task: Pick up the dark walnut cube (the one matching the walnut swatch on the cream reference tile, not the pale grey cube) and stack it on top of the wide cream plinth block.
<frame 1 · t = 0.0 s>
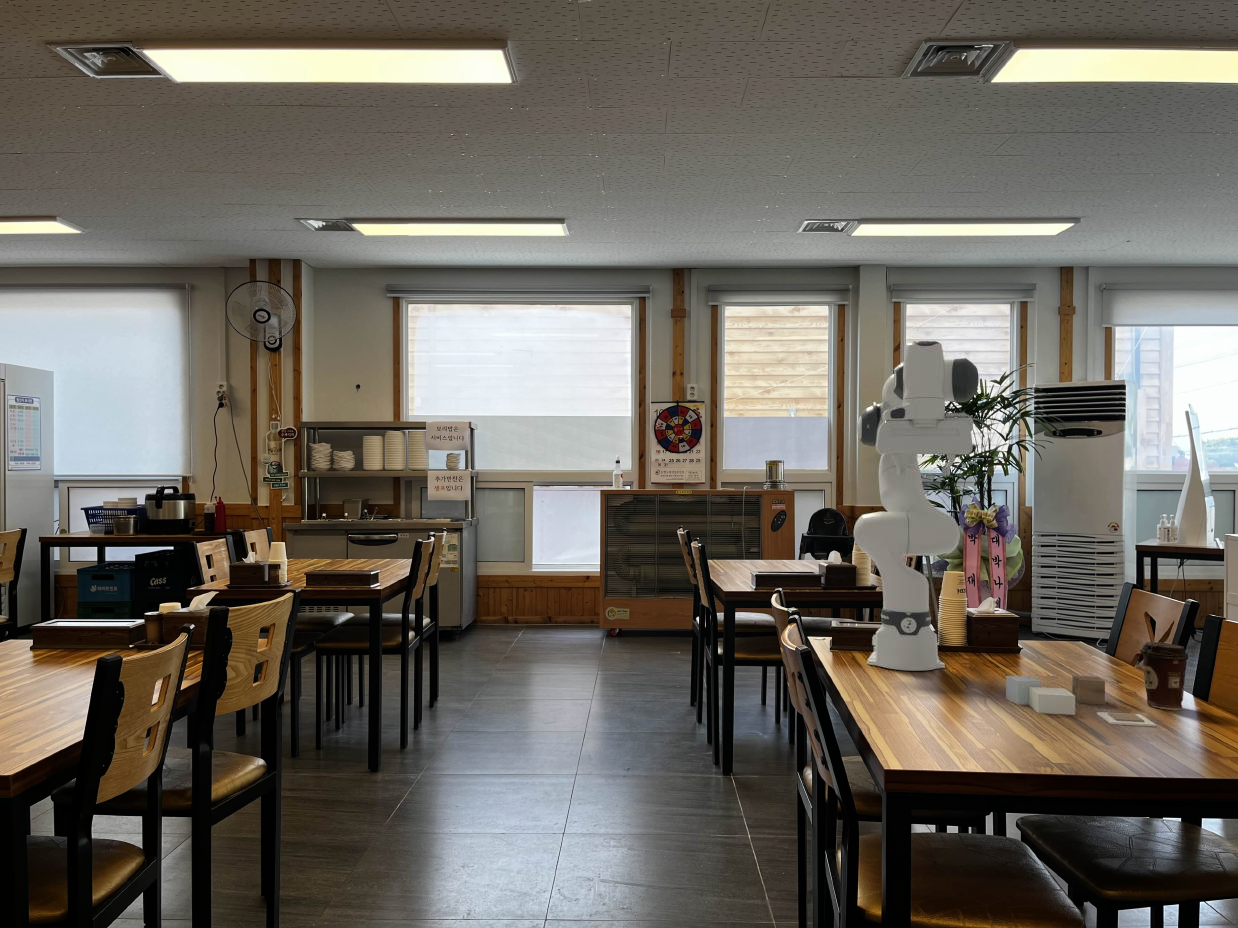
hand: (923, 475, 201), 48 cm above the table, fingers open, 8 cm apart
walnut cube: (1088, 701, 194), on the table
reference tile: (1125, 720, 178), on the table
coffee cup: (1163, 707, 190), on the table
grey cube: (1023, 701, 193), on the table
plinth block: (1051, 710, 186), on the table
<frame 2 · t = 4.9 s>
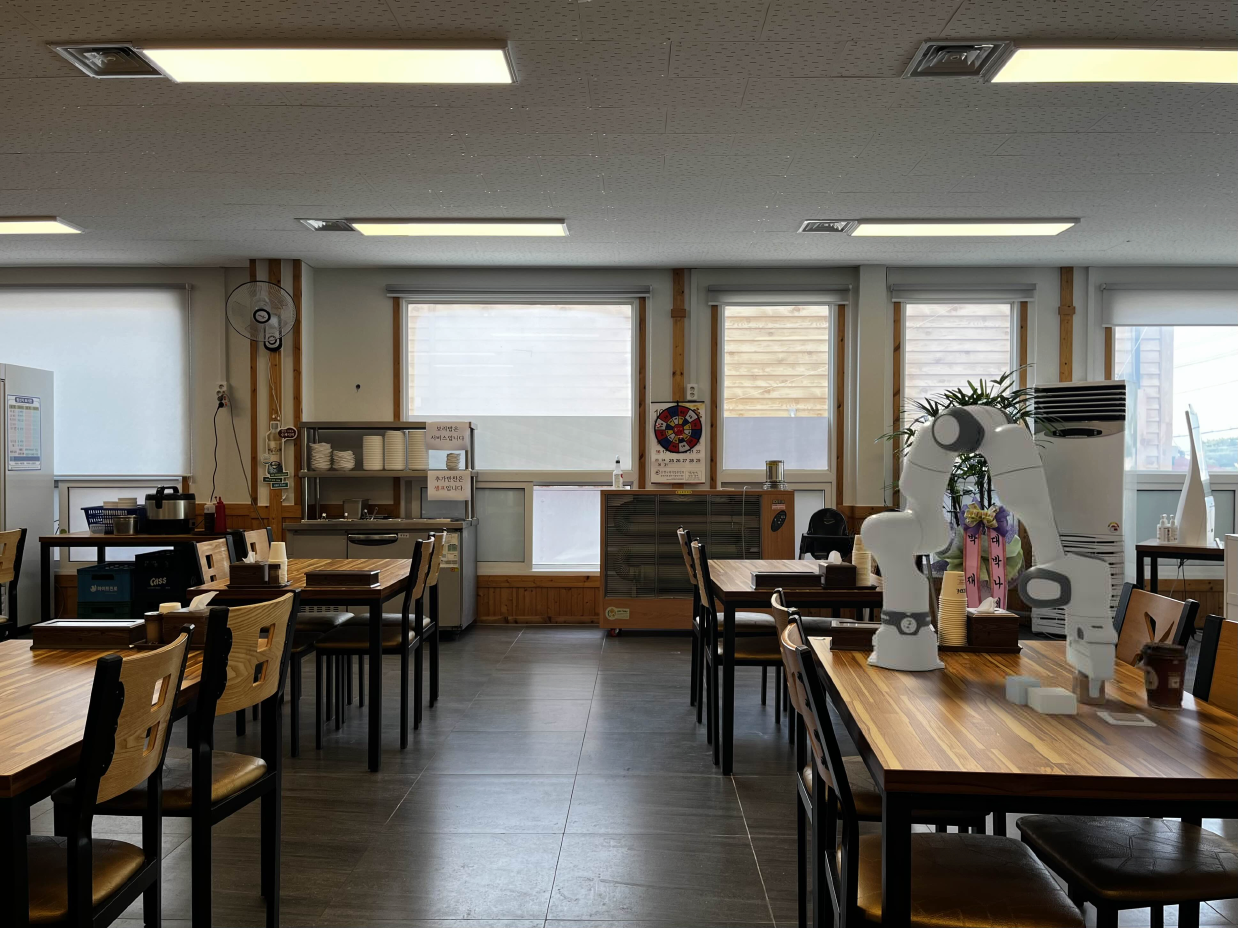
hand: (1088, 693, 194), 2 cm above the table, fingers closed on walnut cube, 5 cm apart
walnut cube: (1088, 700, 194), on the table, touching gripper
everything else where it was.
when the fingers open (7 cm above the table, at t = 10.1 s): walnut cube drops 1 cm, resting on plinth block.
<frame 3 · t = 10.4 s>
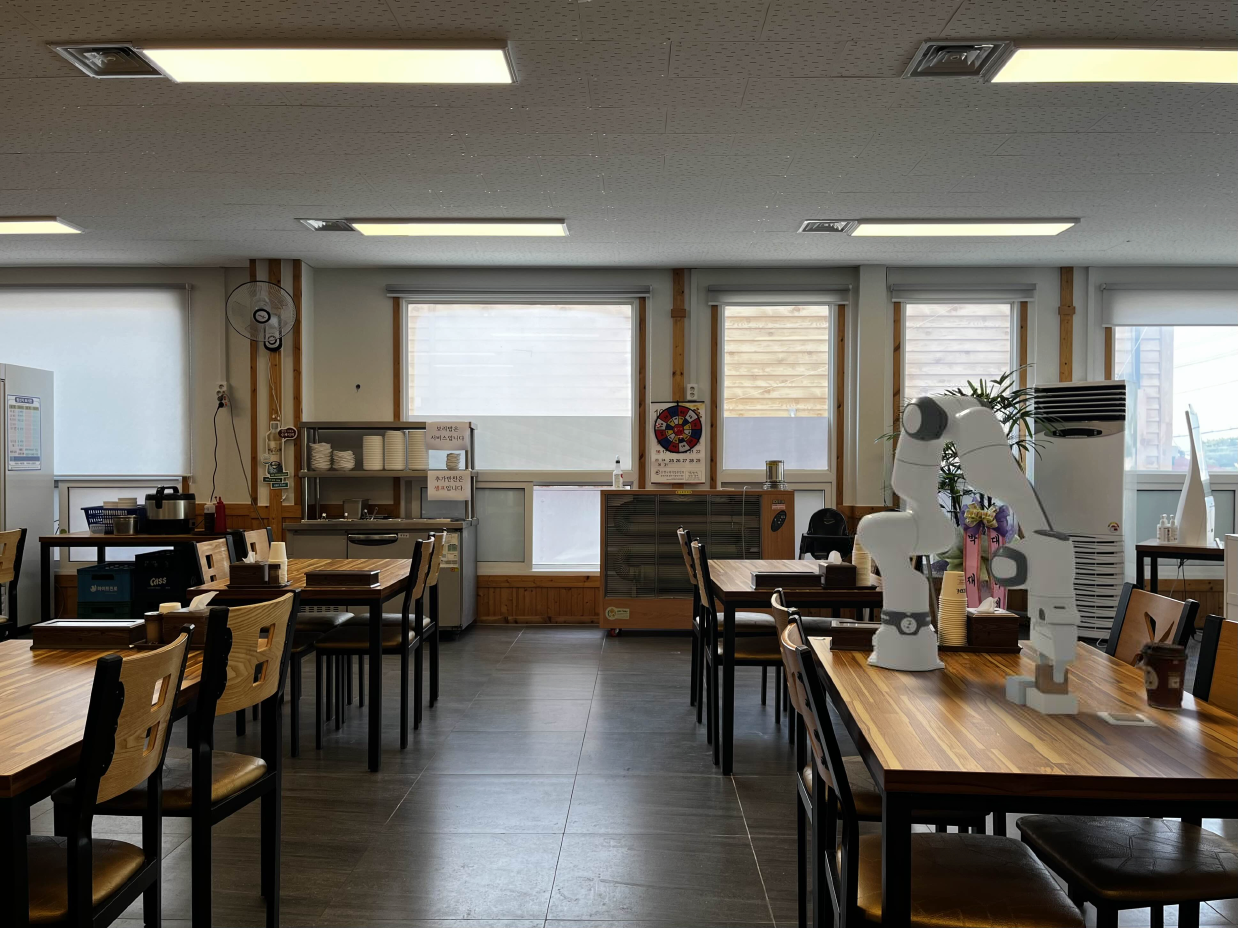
hand: (1051, 676, 186), 7 cm above the table, fingers open, 8 cm apart
walnut cube: (1051, 691, 186), point 4 cm above the table, touching plinth block
plinth block: (1051, 710, 186), on the table, touching walnut cube
everything else where it was.
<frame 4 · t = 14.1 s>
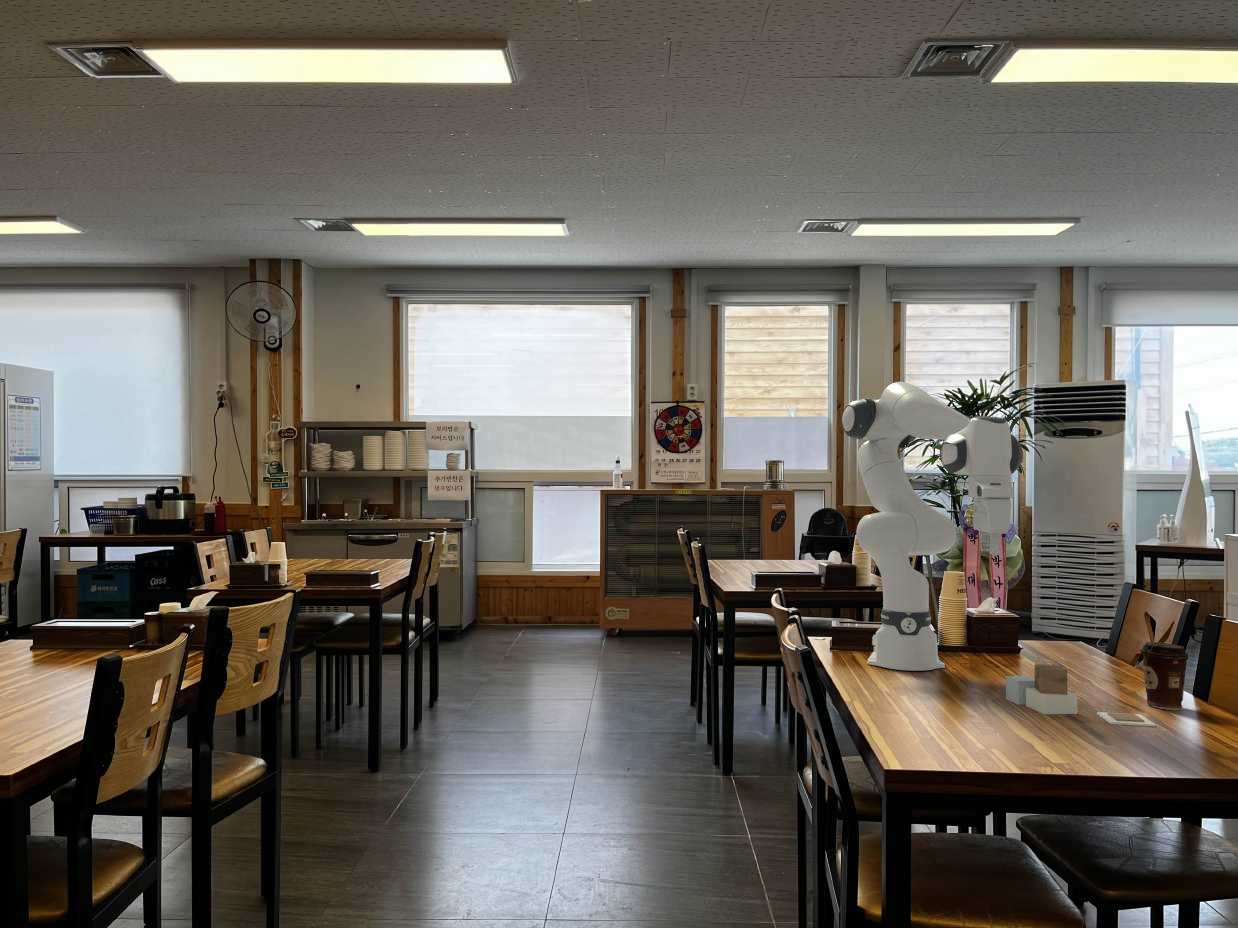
hand: (989, 552, 199), 31 cm above the table, fingers open, 8 cm apart
walnut cube: (1050, 691, 186), point 4 cm above the table
plinth block: (1051, 710, 186), on the table
everything else where it was.
at the end: walnut cube 0.1 cm off-centre on the plinth block, point 4.0 cm above the plinth block's base; walnut cube tilted 0°; the gripper is holding nothing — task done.
